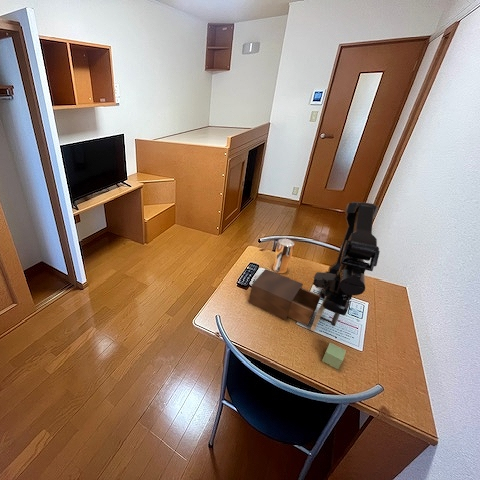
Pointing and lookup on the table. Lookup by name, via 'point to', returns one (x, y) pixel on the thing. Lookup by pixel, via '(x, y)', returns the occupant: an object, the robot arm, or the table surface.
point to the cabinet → (274, 293)
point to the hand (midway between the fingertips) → (333, 311)
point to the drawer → (308, 309)
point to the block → (334, 355)
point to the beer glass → (283, 255)
